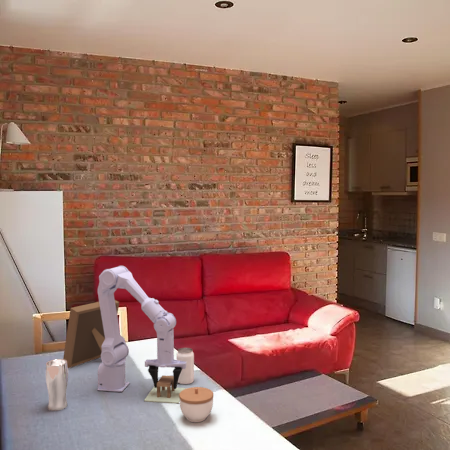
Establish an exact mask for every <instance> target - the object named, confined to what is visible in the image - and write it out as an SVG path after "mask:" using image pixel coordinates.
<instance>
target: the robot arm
mask: <svg viewBox="0 0 450 450" xmlns="http://www.w3.org/2000/svg"><path fill="white" fill-rule="evenodd" d="M98 280H99V283H98V286H97V295H98V302H99V304H100V310H101V316H102V322H103V329H104V335H105V340H104V342H103V344H102V346H101V347H102V353H101V357H100V359H101V360H100V361H101V362H100V363H99V366H98V368H97V389H96V390H97V391H101V392H119V393H121V392H123V391H124V390H125V389H126V388H127V387H128V385H130V381H126V360H127V357H128V355H129V352H130V350H129V349H130V348H129V345H127V343H126V340H125V337H124V336H122V335H121V331H120V325H119V318H118V313H117V311H116V305H115V300H116V299H115V292H116V291H117V289H123V290H126V291H127V292H128V293H130V295H131V296H132V297H133V298H134V299H136V301H137V302H139V303H140V305H141V307H140V308H141V311H142V312H143V313H144V314H145V315H146V316H147V317H148V318H149V320H150V321H151V322H152V324H153V328H154V330H155V332H156V337H157V338H156V342H157V347H156V352H157V354H156V357H157V358H155V359H146V360H145V361H144V367H146V368H148V369H147V371H148V374H149V375H150V377H151V379H152V382H153V385H154V386H153V387H155V388H157V382H158V381H159V368H173V370H172V376H173V377H174V389H176V388H178V384H179V383H178V379H179V376H180V373H181V371H182V369H185V368H186V367H187V363H186V362H185V361H179V360H177V359H175V352H174V351H175V349H174V348H175V346H174V345H175V344H174V340H175V339H174V338H175V336H174V335H175V334H174V332H175V331H174V330H175V329H174V328H175V327H176V325H177V319H176V316H174V314H173V313H171V312H168V310H165V309H164V307H162V306H161V305H160V304H159V302H160V301H159V300H158V299H155V298H154V297H152V298H151V297H149V296H148V295H147V294H146V292H145V291H144V290H143V288H142V287H141V286H140V284H138V282H137V281H136V280H135V278H134V277H133V273H132V272H131V271H130V270H129V269H128V268H127V267H126V266H124V265H118V266H115V267H112V268H105V269H104V270H103V271H102V272H100V274H99V276H98Z"/></svg>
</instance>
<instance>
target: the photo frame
mask: <svg viewBox="0 0 450 450" xmlns="http://www.w3.org/2000/svg"><path fill="white" fill-rule="evenodd" d="M115 305H116V311H117V314H118V312H119V307H120V301H118V300H116V299H115ZM68 316H69V317H68V323H67V330H66V335H65V336H66V337H65V343H64V344H65V345H64V351H63V356H62V359H64V360H67V365H68V369H71V368H74V367H76V366H77V367H78V366H79V365H83V364H84V363H88V362H91V361H94V360H97V359H101V353H102V347H101V346H102V344H103V342H104V340H105V335H104V329H103V322H102V316H101V310H100V304H99V301H96V302H91V303H88V304H82V305H79V306H78V305H77V306H74V307H70V309H69V315H68Z"/></svg>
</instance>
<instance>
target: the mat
mask: <svg viewBox="0 0 450 450" xmlns="http://www.w3.org/2000/svg"><path fill="white" fill-rule="evenodd" d="M184 389H187V387H177V388H176V389H175V391H172V386H171V397H170V398H167V387H165V390H162V387H161V396H160V397H157V388H155V387H154V386H153V387H152V389H151V390H150V391H149V393H148V394H147V395H146V397H145V398H144V400H143V402H146V403H147V402H149V403H163V404H177V405H178V404H179V405H180V398H179V394H180V392H181V391H183V390H184Z"/></svg>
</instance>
